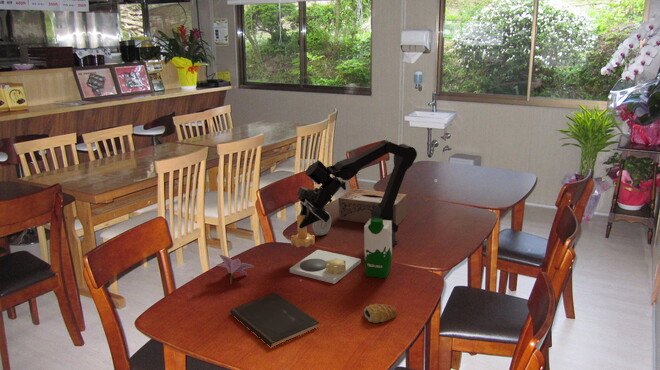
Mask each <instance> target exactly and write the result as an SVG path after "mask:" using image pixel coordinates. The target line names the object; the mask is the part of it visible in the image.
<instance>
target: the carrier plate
mask: <svg viewBox="0 0 660 370" xmlns="http://www.w3.org/2000/svg"><path fill="white" fill-rule="evenodd" d="M361 262H362V259H361V258H358V257H353V256H349V255H345V254H341V253H334V252H330V251H327V250H326V251H325V250H321V249H316V250H315V251H314V252H312V253H311V254H309V255H307V256H306V257H305V258H302V260H299V262H297V263H296V264H294V265H293V266H291V267H290V268H289V273H291V274H294V275H298V276H301V277H306V278H310V279H314V280H318V281H323V282H326V283H330V284H334V285H335V284H336V283H337V282H339V281H340V280H341V279H343V278H344V277H346V275H348V274H349V273H350V272H351V271H352V270H354V269H355V268H356V267H358V266H359V265H360V264H361Z"/></svg>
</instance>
